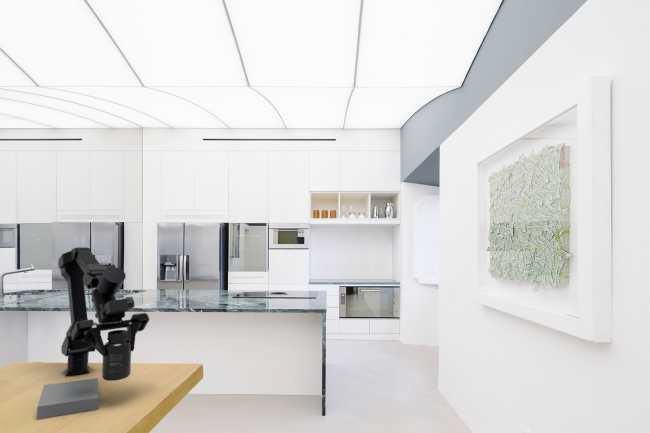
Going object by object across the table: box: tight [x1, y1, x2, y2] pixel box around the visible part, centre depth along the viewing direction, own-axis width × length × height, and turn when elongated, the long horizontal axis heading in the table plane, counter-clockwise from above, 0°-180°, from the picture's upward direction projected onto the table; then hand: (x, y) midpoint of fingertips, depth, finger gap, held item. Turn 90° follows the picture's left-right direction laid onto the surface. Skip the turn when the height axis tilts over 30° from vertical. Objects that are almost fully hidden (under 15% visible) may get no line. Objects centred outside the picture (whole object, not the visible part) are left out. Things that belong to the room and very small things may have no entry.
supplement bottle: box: [101, 329, 132, 382], centre depth 111 cm, size 7×7×12 cm
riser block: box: [36, 377, 100, 420], centre depth 109 cm, size 16×13×3 cm
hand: (119, 353), depth 110 cm, fingers closed on supplement bottle, 7 cm apart
